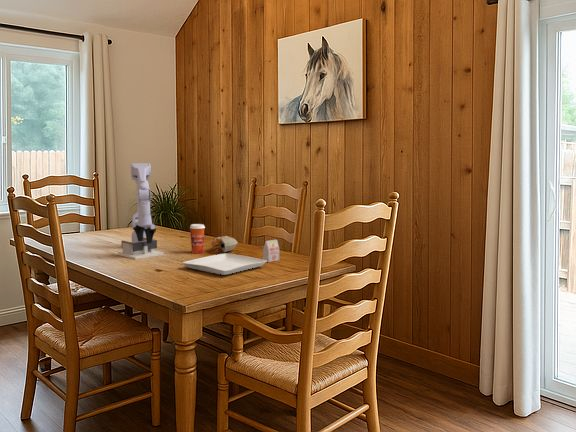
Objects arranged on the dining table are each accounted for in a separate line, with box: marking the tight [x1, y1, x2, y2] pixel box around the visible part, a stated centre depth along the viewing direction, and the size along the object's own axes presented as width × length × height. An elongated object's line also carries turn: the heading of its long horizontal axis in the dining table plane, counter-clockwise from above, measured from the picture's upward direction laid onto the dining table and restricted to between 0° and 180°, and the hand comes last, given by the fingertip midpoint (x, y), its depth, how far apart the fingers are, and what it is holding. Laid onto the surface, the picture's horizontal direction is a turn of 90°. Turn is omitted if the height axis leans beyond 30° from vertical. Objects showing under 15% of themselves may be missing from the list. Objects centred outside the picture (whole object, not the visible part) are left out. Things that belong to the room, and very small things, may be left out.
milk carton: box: [262, 239, 280, 263], centre depth 273 cm, size 4×7×10 cm, turn 131°
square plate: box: [181, 252, 267, 276], centre depth 258 cm, size 27×27×4 cm
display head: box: [116, 240, 165, 260], centre depth 286 cm, size 16×16×6 cm
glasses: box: [120, 238, 158, 252], centre depth 287 cm, size 12×13×4 cm
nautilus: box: [206, 235, 239, 255], centre depth 295 cm, size 8×22×15 cm
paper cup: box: [189, 223, 206, 255], centre depth 293 cm, size 8×8×14 cm
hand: (144, 242), depth 283 cm, fingers open, 7 cm apart
